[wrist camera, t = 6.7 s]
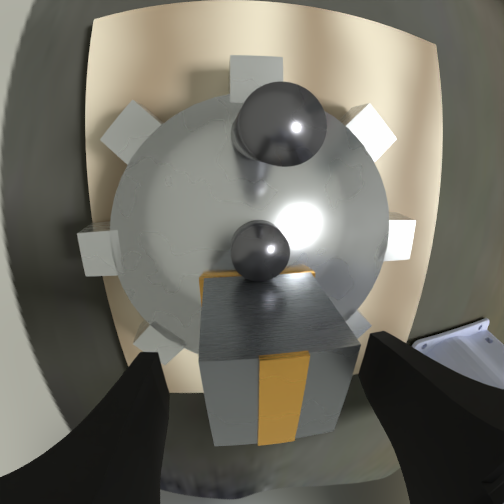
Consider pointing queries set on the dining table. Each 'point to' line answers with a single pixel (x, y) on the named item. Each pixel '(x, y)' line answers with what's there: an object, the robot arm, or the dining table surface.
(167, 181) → the sprocket
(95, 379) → the dining table surface
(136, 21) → the base board
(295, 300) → the link block
